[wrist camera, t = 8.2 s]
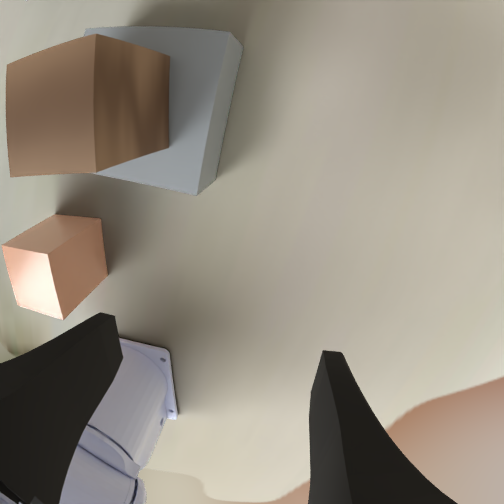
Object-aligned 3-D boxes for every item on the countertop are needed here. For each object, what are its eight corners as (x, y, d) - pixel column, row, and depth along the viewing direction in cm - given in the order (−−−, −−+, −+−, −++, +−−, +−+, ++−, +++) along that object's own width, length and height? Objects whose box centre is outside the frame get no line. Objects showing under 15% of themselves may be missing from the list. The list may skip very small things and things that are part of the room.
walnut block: (169, 147, 14) (96, 172, 9) (92, 150, 15) (10, 177, 10) (170, 55, 13) (96, 33, 7) (91, 68, 13) (6, 64, 8)
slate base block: (216, 178, 19) (196, 195, 15) (102, 156, 19) (66, 168, 16) (244, 47, 16) (229, 31, 12) (121, 38, 16) (85, 28, 12)
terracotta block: (108, 275, 23) (63, 320, 17) (63, 266, 23) (17, 305, 18) (101, 218, 21) (47, 254, 15) (55, 214, 21) (1, 245, 16)
